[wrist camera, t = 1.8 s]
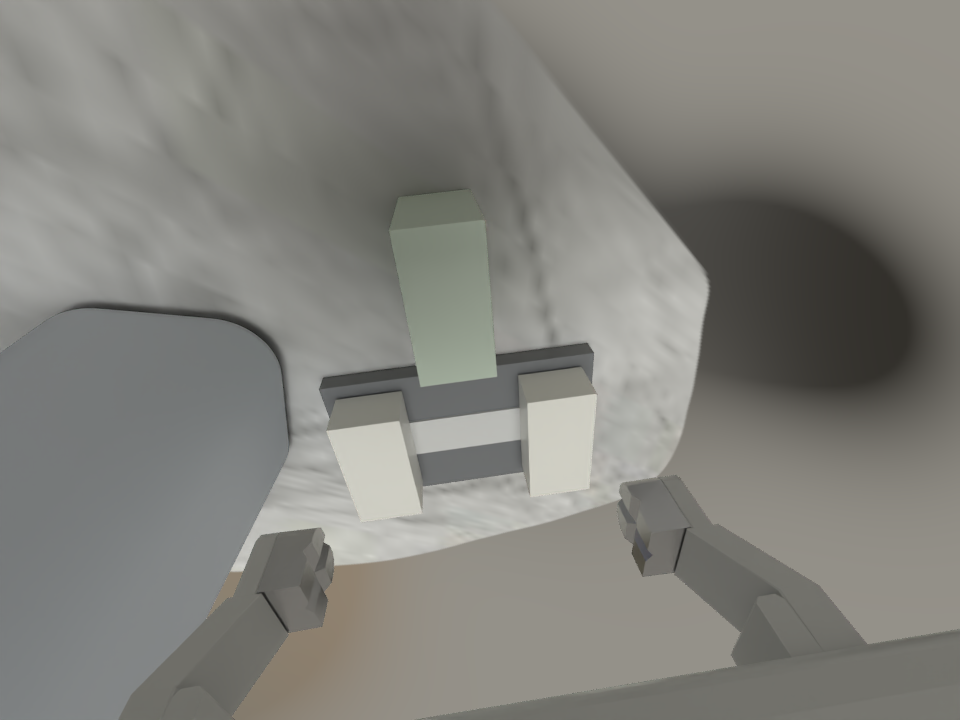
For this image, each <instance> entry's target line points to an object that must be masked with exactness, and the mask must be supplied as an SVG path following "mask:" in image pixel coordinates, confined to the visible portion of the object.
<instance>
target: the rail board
mask: <svg viewBox="0 0 960 720" xmlns="http://www.w3.org/2000/svg"><path fill="white" fill-rule="evenodd" d="M593 360H594V352H593V351H592V349H591V348H590V346H589V345H588V343H586V344H578V345H571V346H563V347H556V348H548V349H540V350H533V351H525V352H518V353H510V354H502V355H496V367H497V377H492V378H484V379H477V380H470V381H462V382H455V383H447V384H440V385H432V386H425V387H420V382H419V377H418V372H417V367H416V366H411V367H404V368H396V369H389V370H381V371H373V372H366V373H358V374H351V375H343V376H335V377H328V378H323V380H322V383H321V386H320V388H319V391H320V393H321V396H322V399H323V402H324V404H325V407H326V410H327V412H328V415H329V418H330V420H329V424H328V427H327V430H326V432H327V434H328V437H329V439H330V442H331V445H332V447H333V450H334V453H335V455H336V458H337V460H338V463H339V466H340V468H341V471H342V473H343V476H344V479H345V481H346V484H347V486H348V489H349V492H350V494H351V497H352V499H353V502H354V505H355V507H356V510H357V513H358V515H359V518H360V520H361V522H368V521H374V520H381V519H388V518H395V517H401V516H408V515H415V514H422V503H423V486H429V485H436V484H443V483H450V482H457V481H464V480H471V479H478V478H484V477H491V476H498V475H505V474H512V473H519V472H524V475H525V479H526V483H527V487H528V490H529V494H530V497H536V496H543V495H550V494H557V493H563V492H570V491H577V490H584V489H589V485H590V473H591V461H592V449H593V437H594V425H595V413H596V401H597V393H596V391H595V389H594V387H593V386H592V373H593Z"/></svg>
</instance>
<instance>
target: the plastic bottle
mask: <svg viewBox="0 0 960 720" xmlns="http://www.w3.org/2000/svg"><path fill="white" fill-rule="evenodd" d="M288 450H289V440H288V430H287V420H286V411H285V401H284V391H283V382H282V373H281V368H280V365H279V362H278V360H277V358H276V356H275V354H274V353H273V351H272V350H271V349H270V347H269V346H268V345H267V344H266V343H265V342H264V341H263V340H262V339H261V338H260V337H258V336H257V335H256V334H254V333H253V332H251V331H249V330H248V329H246V328H244V327H242V326H239V325H237V324H234V323H232V322H228V321H225V320H220V319H213V318H201V317H190V316H179V315H167V314H156V313H144V312H133V311H122V310H110V309H98V308H81V309H74V310H70V311H66V312H62V313H59V314H57V315H55V316H53V317H51V318H49V319H48V320H46V321H44V322H43V323H42V324H40V325H39V326H37V327H36V328H35V329H33V330H32V331H30V332H29V333H28V334H26V335H25V336H23V337H22V338H20V339H19V340H18V341H16V342H15V343H13V344H12V345H11V346H9V347H8V348H6V349H5V350H4V351H2V352H1V353H0V720H118V719H119V717H120V715H121V713H122V711H123V709H124V707H125V705H126V704H127V702H128V700H129V698H130V696H131V694H132V693H133V692H134V691H135V690H136V689H137V688H138V687H139V686H140V685H141V684H142V683H143V682H144V681H145V680H146V679H147V678H148V677H149V676H150V675H151V674H152V673H153V672H154V671H155V670H156V669H157V668H158V667H159V666H160V665H161V664H162V663H163V662H164V661H165V660H166V659H167V658H168V657H169V656H170V655H171V654H172V653H173V652H174V651H175V650H176V649H177V648H178V647H179V646H180V645H181V644H182V643H183V642H184V641H185V640H186V639H187V638H188V637H189V636H190V635H191V634H192V633H193V632H194V631H195V630H196V629H197V628H198V627H199V626H200V625H201V624H202V623H203V622H204V621H205V620H206V618H207V616H208V614H209V612H210V610H211V608H212V606H213V604H214V602H215V600H216V598H217V596H218V594H219V592H220V590H221V588H222V586H223V584H224V582H225V580H226V578H227V576H228V574H229V572H230V570H231V568H232V566H233V564H234V562H235V560H236V558H237V556H238V554H239V552H240V550H241V548H242V546H243V544H244V542H245V540H246V538H247V536H248V534H249V532H250V530H251V528H252V526H253V524H254V522H255V520H256V518H257V516H258V514H259V512H260V510H261V508H262V506H263V504H264V502H265V500H266V498H267V496H268V494H269V492H270V490H271V488H272V486H273V484H274V482H275V480H276V478H277V476H278V474H279V472H280V470H281V468H282V466H283V464H284V462H285V460H286V458H287V455H288Z"/></svg>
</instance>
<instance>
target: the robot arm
mask: <svg viewBox="0 0 960 720" xmlns="http://www.w3.org/2000/svg"><path fill="white" fill-rule="evenodd" d="M619 493H620V495H621V497H622V499H621V500H620V501H619V502H618V505H617V515H618V522H619V525H620V528H621V531H622V533H623V535H624V537H625V539H627V540H628V541H629V542H631V543H632V544H633V548H632V555H633V557H634V559H635V562H636V564H637V566H638V568H639V570H640V572H641V574H642V576H643V577H644V576H652V575H659V574H668V573H675V575H676V576H677V577H678V578H679V579H680V580H681V581H683V582H684V583H685V584H686V585H687V586H688V587H689V588H691V589H692V590H693V591H694V592H695V593H696V594H697V595H699V596H700V597H701V598H702V599H703V600H704V601H705V602H707V603H708V604H709V605H710V606H711V607H712V608H713V609H715V610H716V611H717V612H718V613H719V614H720V615H722V616H723V617H724V618H725V619H726V620H727V621H728V622H729V623H731V624H732V625H733V626H734V627H735V628H736V629H737V630H739V631H740V632H741V633H740V635H739V637H738V640H737V642H736V644H735V646H734V648H733V651H732V654H731V656H732V658H733V659H734V661H735V663H736V665H737V666H735V667H729V668H723V669H717V670H711V671H705V672H699V673H693V674H686V675H680V676H675V677H669V678H662V679H656V680H650V681H644V682H638V683H632V684H626V685H620V686H614V687H609V688H603V689H596V690H591V691H584V692H578V693H572V694H566V695H561V696H554V697H548V698H542V699H537V700H530V701H524V702H518V703H512V704H506V705H500V706H494V707H488V708H482V709H477V710H471V711H464V712H458V713H452V714H446V715H440V716H434V717H428V718H422V719H417V720H960V629H957V630H951V631H945V632H939V633H933V634H927V635H921V636H915V637H909V638H903V639H897V640H891V641H885V642H880V643H873V644H867V643H866V642H865V641H864V639H863V638H862V637H861V636H860V634H859V633H858V632H857V631H856V630H855V628H854V627H853V626H852V625H851V624H850V622H849V621H848V620H847V619H846V617H844V615H843V614H842V613H841V611H840V610H839V609H838V608H837V606H836V605H835V604H834V603H833V602H832V600H831V599H830V598H829V597H828V595H827V594H826V593H825V592H824V591H823V589H822V588H821V587H820V586H819V585H818V584H816V583H814V582H813V581H811V580H809V579H808V578H806V577H805V576H803V575H801V574H800V573H798V572H796V571H795V570H793V569H791V568H789V567H788V566H786V565H785V564H783V563H781V562H780V561H778V560H776V559H775V558H773V557H772V556H770V555H768V554H767V553H765V552H763V551H762V550H760V549H758V548H756V547H755V546H754V545H752V544H750V543H749V542H747V541H745V540H744V539H742V538H740V537H739V536H737V535H735V534H734V533H732V532H730V531H729V530H727V529H726V528H724V527H722V526H720V525H719V524H715V525H713V524H712V523H711V521H710V520H709V519H708V517H707V516H706V514H705V513H704V511H703V510H702V509H701V507H700V506H699V504H698V503H697V501H696V500H695V498H694V497H693V496H692V494H691V493H690V491H689V490H688V489H687V487H686V485H685V484H684V483H683V481H682V480H681V478H680V477H678V476H677V475H671V476H665V477H658V478H656V477H655V478H649V479H643V480H636V481H630V482H624V483H622V484H621V485H620V489H619ZM324 538H325V534H324V532H323V530H322V528H313V529H305V530H296V531H288V532H280V533H272V534H265V535H261V536H260V537H259V538H258V539H257V541H256V542H255V545H254V547H253V549H252V552H251V554H250V557H249V559H248V562H247V564H246V567H245V569H244V571H243V574H242V576H241V579H240V581H239V584H238V586H237V589H236V591H235V593H234V596H233V597H232V598H227V599H226V600H225V601H224V602H223V603H222V604H221V605H220V606H219V607H218V608H217V609H216V610H215V611H214V612H213V613H212V614H211V615H210V616H209V617H208V618H207V619H206V620H205V621H204V622H203V623H202V624H201V625H200V626H199V627H198V628H197V629H196V630H195V631H194V632H193V633H192V634H191V635H190V636H189V637H188V638H187V639H186V640H185V641H184V642H183V643H182V644H181V645H180V646H179V647H178V648H177V649H176V650H175V651H174V652H173V653H172V654H171V655H170V656H169V657H168V658H167V659H166V660H165V661H164V662H163V663H162V664H161V665H160V666H159V667H158V668H157V669H156V670H155V671H154V672H153V673H152V674H151V675H150V676H149V677H148V678H147V679H146V680H145V681H144V682H143V683H142V684H141V685H140V686H139V687H138V688H137V689H136V690H135V691H134V692H133V693H132V694H131V696H130V698H129V700H128V702H127V704H126V705H125V707H124V709H123V711H122V713H121V715H120V717H119V719H118V720H235V719H234V718H233V717H232V715H233V714H234V712H235V711H236V709H237V708H238V707H239V705H240V704H241V702H242V701H243V700H244V698H245V697H246V695H247V694H248V692H249V691H250V690H251V688H252V687H253V685H254V684H255V682H256V681H257V679H258V678H259V677H260V675H261V674H262V672H263V671H264V669H265V668H266V667H267V665H268V664H269V662H270V661H271V659H272V658H273V657H274V655H275V654H276V652H277V651H278V650H279V648H280V647H281V645H282V644H283V642H284V641H285V639H286V638H287V637H288V633H290V632H296V631H301V630H307V629H311V628H317V627H322V625H323V621H324V616H325V612H326V607H327V602H328V599H327V597H326V595H325V593H324V591H325V590H326V589H327V588H328V586H329V585H330V584H331V583H332V578H333V572H334V558H333V552H332V550H331V547H330V546H329V545H327V544H326V543H324Z"/></svg>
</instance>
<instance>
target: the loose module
mask: <svg viewBox="0 0 960 720" xmlns="http://www.w3.org/2000/svg"><path fill="white" fill-rule="evenodd" d="M389 234H390V239H391V244H392V249H393V254H394V259H395V264H396V269H397V274H398V279H399V284H400V289H401V293H402V298H403V303H404V308H405V313H406V318H407V323H408V328H409V333H410V338H411V343H412V348H413V352H414V357H415V362H416V367H417V372H418V377H419V382H420V387H425V386H432V385H440V384H447V383H455V382H462V381H470V380H477V379H484V378H492V377H497V367H496V354H495V342H494V329H493V316H492V303H491V290H490V277H489V264H488V252H487V239H486V226H485V219H484V217H483V215H482V212H481V210H480V208H479V206H478V204H477V202H476V200H475V198H474V196H473V194H472V192H471V190H470V189H465V190H457V191H448V192H439V193H430V194H421V195H412V196H403V197H398V201H397V204H396V208H395V211H394V214H393V218H392V221H391V225H390V228H389Z"/></svg>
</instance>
